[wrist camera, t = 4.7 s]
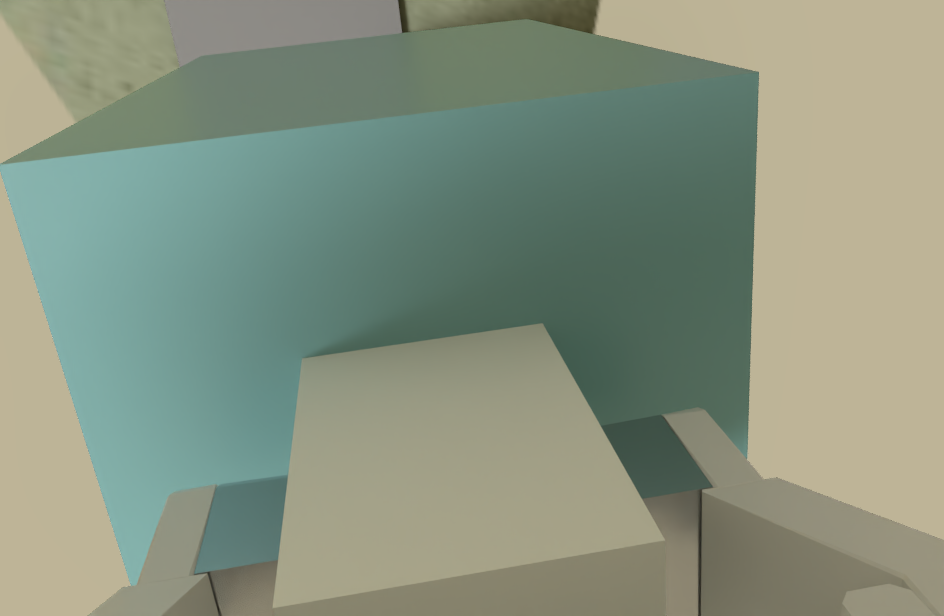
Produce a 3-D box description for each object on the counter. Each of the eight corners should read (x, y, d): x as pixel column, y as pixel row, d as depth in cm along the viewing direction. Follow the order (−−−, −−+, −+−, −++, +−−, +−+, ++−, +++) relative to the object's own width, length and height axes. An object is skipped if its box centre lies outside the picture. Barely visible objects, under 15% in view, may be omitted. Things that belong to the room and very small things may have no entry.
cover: (201, 55, 21) (-292, 319, 5) (526, 18, 22) (1054, 139, 6) (265, 354, 25) (97, 1126, 8) (547, 313, 25) (921, 940, 9)
